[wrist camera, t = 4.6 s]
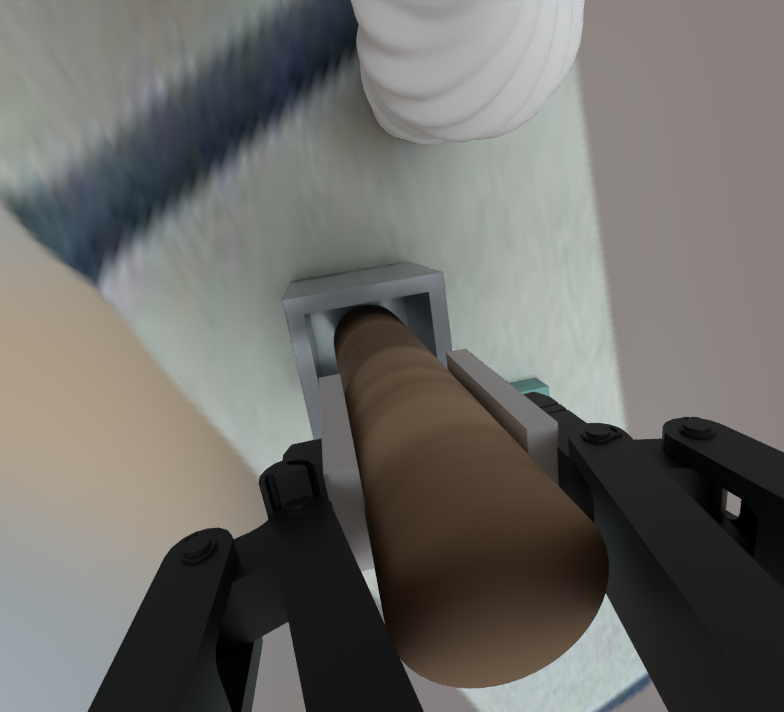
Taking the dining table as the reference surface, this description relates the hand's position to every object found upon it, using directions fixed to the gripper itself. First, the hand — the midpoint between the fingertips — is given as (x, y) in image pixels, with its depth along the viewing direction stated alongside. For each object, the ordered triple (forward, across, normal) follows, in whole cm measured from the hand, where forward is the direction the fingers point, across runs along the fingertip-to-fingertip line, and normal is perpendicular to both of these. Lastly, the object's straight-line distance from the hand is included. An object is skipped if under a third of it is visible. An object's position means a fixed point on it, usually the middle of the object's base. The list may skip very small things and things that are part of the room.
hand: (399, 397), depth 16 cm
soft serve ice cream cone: (+14, +5, +12) cm, 19 cm away
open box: (+14, 0, 0) cm, 14 cm away
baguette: (+9, 0, 0) cm, 9 cm away
